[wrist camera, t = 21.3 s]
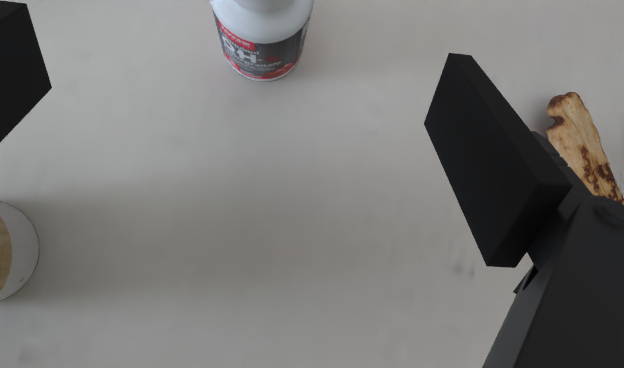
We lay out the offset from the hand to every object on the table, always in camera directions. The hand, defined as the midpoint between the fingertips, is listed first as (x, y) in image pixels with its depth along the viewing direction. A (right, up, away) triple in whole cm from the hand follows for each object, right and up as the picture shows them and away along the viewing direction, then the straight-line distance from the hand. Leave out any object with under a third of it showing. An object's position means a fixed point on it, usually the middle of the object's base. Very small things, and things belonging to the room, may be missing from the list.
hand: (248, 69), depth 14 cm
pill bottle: (-1, +6, +14) cm, 16 cm away
